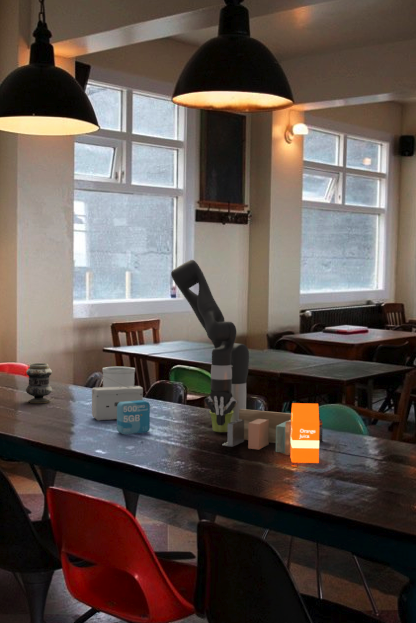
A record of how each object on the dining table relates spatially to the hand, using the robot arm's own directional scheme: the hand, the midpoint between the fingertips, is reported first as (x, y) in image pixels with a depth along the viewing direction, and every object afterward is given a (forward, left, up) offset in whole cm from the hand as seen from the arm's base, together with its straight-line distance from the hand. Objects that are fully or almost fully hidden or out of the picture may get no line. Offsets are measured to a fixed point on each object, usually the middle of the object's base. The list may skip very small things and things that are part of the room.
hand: (220, 425), depth 303 cm
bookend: (0, +6, -6) cm, 9 cm away
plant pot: (-20, -9, -8) cm, 23 cm away
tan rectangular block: (0, +15, -6) cm, 16 cm away
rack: (-2, +16, -8) cm, 18 cm away
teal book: (0, +25, -6) cm, 26 cm away
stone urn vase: (-46, -116, -8) cm, 125 cm away
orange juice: (+11, +36, -8) cm, 39 cm away
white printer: (-28, -61, -8) cm, 67 cm away
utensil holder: (-54, -77, -8) cm, 94 cm away
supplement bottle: (-19, +29, -8) cm, 35 cm away
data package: (-6, -40, -8) cm, 41 cm away
